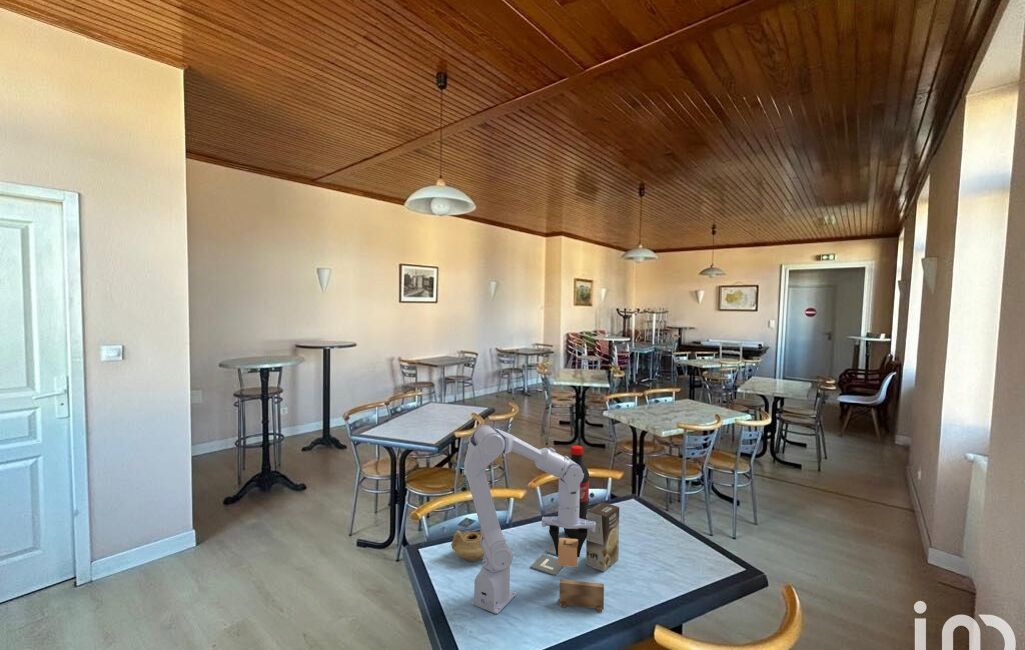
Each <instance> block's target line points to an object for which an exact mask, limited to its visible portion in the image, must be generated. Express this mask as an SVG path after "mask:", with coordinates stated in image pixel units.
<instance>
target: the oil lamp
mask: <svg viewBox="0 0 1025 650" xmlns="http://www.w3.org/2000/svg"><path fill="white" fill-rule="evenodd" d="M480 542H481V532H480V531H479V532H478V531H467V532H464V533H462V531H460V530H456V531H455V532H454V534H453V538H452V542H451V544H450V545H451V546H450V547H451V549H452V550H453V551H454V553H455V554H456V555H457V556H459V557H460V558H462V559H463V560H464V561H467V562H477V561H480V560H481V559H483V557H484V552H483V550H482V549H481V545H480Z"/></svg>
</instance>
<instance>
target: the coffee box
mask: <svg viewBox="0 0 1025 650" xmlns="http://www.w3.org/2000/svg"><path fill="white" fill-rule="evenodd" d="M587 520H588V521H593V522H596V528H595V532H592V531H591V530H587V537H586V539H585V541H586V546H585V547H586V549H585V550H586V551H585V554H586V555H585V565H586V566H589V567H591V568H594V569H596V570H599V571H601V572H606V571H607V570H609V568H610V567H612V566H613V565H614V564H615V563H616V562H617V561H618V560H619V557H620V556H619V549H620V548H619V547H620V545H619V544H620V506H617V505H613V504H611V503H605V502H603V501H602V502H601V501H600V502H599V503H597V504H596V505H594V506H592V507H591V508H588V510H587Z"/></svg>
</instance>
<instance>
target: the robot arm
mask: <svg viewBox="0 0 1025 650" xmlns="http://www.w3.org/2000/svg"><path fill="white" fill-rule="evenodd" d="M510 452H512V453H513V452H514V453H516V454H518V455H521V456H523V457H525V458H527V459H529V460H531V461H534V464H535V467H536V468H537V469H539V470H540V471H543V472H545V473H547V474H549V475H550V476H553V477H555V478H558V492H557V493H558V499H557V501H558V502H557V503H558V504H557V510H558V511H557V515H558V516H542V518H541V527H543V528H546V527H548V533H549V535H550V537H551V539H552V542H553V543H554V546H555V550H556V555H558V545H559V538H560V528H562V529H564V528H567V529H578V549H577V557H578V558H581V551H582V547H583V545H584V543H585V541H586V537H587V530H591V531H592V532H595V528H596V522H593V521H588V520H584V519H580V518H579V494H580V483H581V482H582V480H583V478H584V473H583V472H582V468H581V467H580V466H579V465H578V464H576V463H575V462H573V461H572V460H571V458H570V457H569V456H567V455H564V456H563V455H562V454H560V453H557V452H556V449H554V448H553V447H550V446H549V447H543V448H540V449H539V448H537V447H535V446H533V445H531V444H530V443H527V442H525V441H524V440H523V439H522V440H521V439H520V438H519V437H516V436H514V435H513V434H511V433H509V432H506V431H504V430H501V429H498V428H496V427H495V428H494V427H492V426H491V425H488V424H482V425H478V427H476V428H475V430H473V432H472V434H471V435H470V436H469V438H468V447H467V449H466V454H465V457H464V461H463V468H464V472H465V475H466V479H467V482H468V483H467V484H468V486H469V490H470V494H471V498H472V501H473V505H474V508H475V511H476V516H477V518H478V523H479V526H480V530H479V532H480V533H481V542H480V545H481V549H482V550H483V552H484V557H483V558H482V561H481V563H482V564H481V569H480V570H479V572H478V574H477V575H476V577H474V578H475V579H474V589H473V590H474V593H473V594H474V595H473V596H474V598H473V600H472V601H471V605H474V606H476V607H478V608H480V609H483V610H485V611H488V612H491V613H493V614H496V615H497V614H500V612H501V611H502V610H503V609H505V607H507V605H508V604H509V603H510V602H511V601H512V599H514V598H515V597H516V595H517V592H516V591H514V590H511V589H510V588H511V581H510V580H511V564H512V563H513V559H514V553H513V550H512V549H511V548H510V547H509V545H508V544H507V542H506V539H505V536H504V534H503V531H502V529H501V526H500V522H499V519H498V514H497V511H496V507H495V503H494V500H493V499H494V498H493V495H492V493H491V489H490V484H489V482H488V478H487V473H486V469H487V468H488V467H489V466H490V464H491V463H492V462H494V461H495V460H496V459H497V458H498V457H499V456H500V455H502V454H504V455H507V454H509V453H510Z"/></svg>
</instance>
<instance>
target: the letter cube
mask: <svg viewBox="0 0 1025 650" xmlns="http://www.w3.org/2000/svg"><path fill="white" fill-rule="evenodd" d="M577 549H578V539H570V538H569V537H566V538H565V537H559V545H558V556H557V559H558V565H562V566H564V567H575V568H577V567H578V560H579V557H577Z"/></svg>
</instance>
